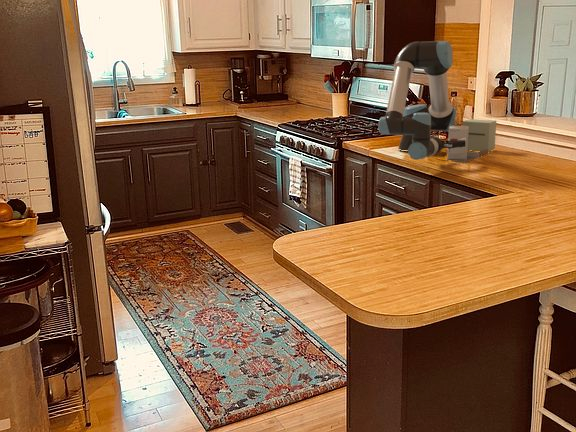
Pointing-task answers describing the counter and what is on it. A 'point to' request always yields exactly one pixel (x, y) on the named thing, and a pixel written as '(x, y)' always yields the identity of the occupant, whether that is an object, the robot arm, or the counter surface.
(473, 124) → the dispenser rack
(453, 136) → the supplement box
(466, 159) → the trivet
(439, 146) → the robot arm
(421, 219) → the counter surface
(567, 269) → the counter surface
